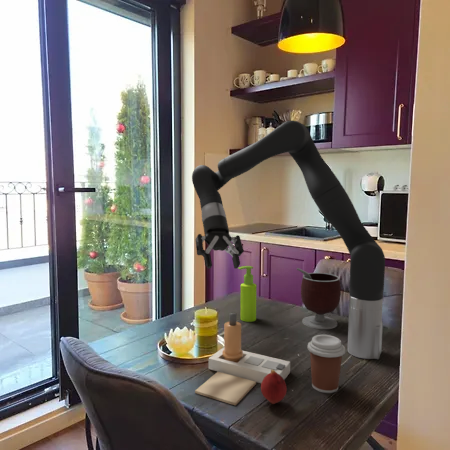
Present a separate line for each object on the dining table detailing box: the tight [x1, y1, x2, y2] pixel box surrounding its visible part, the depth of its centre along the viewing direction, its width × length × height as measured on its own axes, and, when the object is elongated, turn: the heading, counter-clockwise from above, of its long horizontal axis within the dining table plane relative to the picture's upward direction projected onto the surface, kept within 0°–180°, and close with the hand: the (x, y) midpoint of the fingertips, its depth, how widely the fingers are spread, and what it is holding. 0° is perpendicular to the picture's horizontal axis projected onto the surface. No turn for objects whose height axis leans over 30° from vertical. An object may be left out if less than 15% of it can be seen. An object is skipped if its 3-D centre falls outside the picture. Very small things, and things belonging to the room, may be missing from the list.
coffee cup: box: [306, 334, 346, 394], centre depth 96 cm, size 9×9×12 cm
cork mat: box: [194, 371, 257, 406], centre depth 96 cm, size 11×11×1 cm
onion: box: [260, 370, 288, 405], centre depth 89 cm, size 6×6×8 cm
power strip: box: [208, 346, 291, 384], centre depth 105 cm, size 20×9×3 cm, turn 61°
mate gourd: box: [296, 267, 342, 330], centre depth 140 cm, size 16×14×20 cm
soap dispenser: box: [237, 265, 257, 323], centre depth 144 cm, size 6×7×20 cm
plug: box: [222, 312, 244, 363], centre depth 106 cm, size 6×6×15 cm
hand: (223, 267), depth 113 cm, fingers open, 8 cm apart
